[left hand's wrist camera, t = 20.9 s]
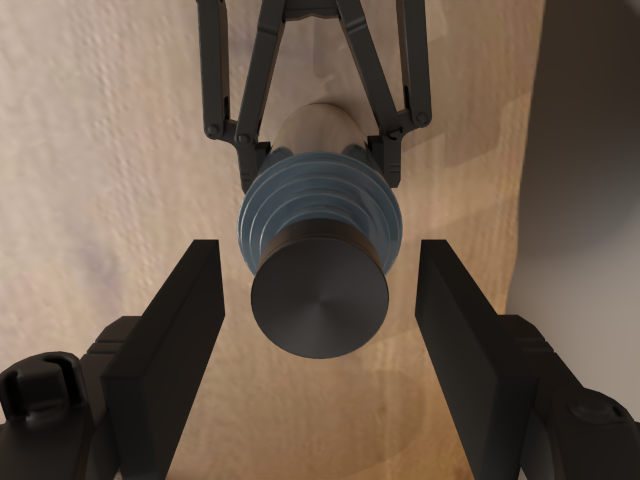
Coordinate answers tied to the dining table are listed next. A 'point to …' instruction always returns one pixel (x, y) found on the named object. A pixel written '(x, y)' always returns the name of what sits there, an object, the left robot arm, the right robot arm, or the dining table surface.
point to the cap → (319, 289)
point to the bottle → (319, 185)
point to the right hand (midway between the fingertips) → (324, 235)
